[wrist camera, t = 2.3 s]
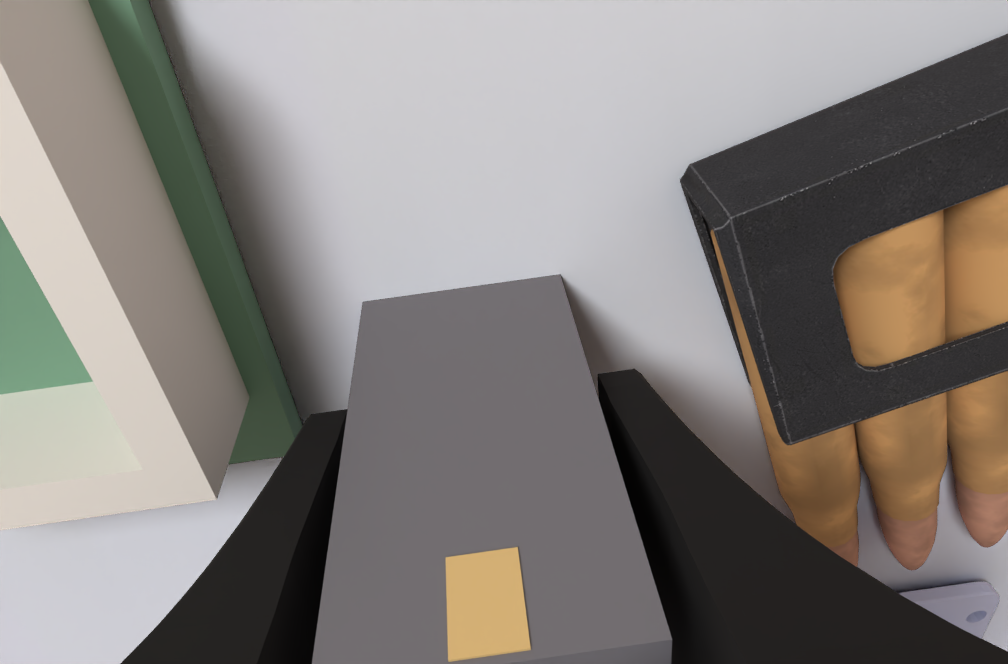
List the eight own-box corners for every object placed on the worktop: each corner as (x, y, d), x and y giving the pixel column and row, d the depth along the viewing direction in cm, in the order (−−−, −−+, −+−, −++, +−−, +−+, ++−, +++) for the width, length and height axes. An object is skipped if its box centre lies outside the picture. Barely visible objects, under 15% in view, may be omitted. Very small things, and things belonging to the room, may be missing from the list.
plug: (570, 423, 15) (665, 802, 9) (401, 447, 15) (383, 842, 9) (560, 273, 13) (672, 637, 7) (362, 300, 13) (306, 690, 7)
